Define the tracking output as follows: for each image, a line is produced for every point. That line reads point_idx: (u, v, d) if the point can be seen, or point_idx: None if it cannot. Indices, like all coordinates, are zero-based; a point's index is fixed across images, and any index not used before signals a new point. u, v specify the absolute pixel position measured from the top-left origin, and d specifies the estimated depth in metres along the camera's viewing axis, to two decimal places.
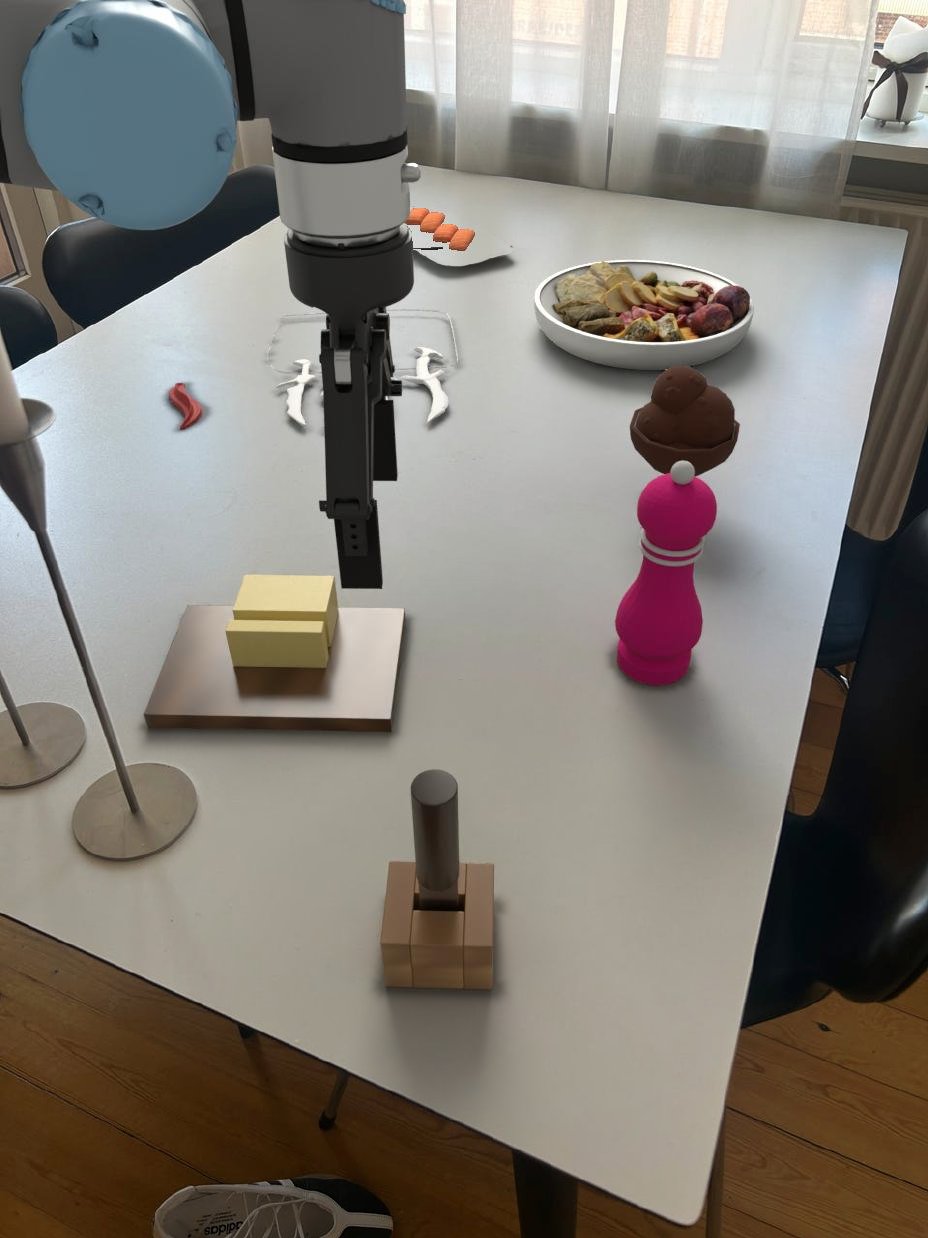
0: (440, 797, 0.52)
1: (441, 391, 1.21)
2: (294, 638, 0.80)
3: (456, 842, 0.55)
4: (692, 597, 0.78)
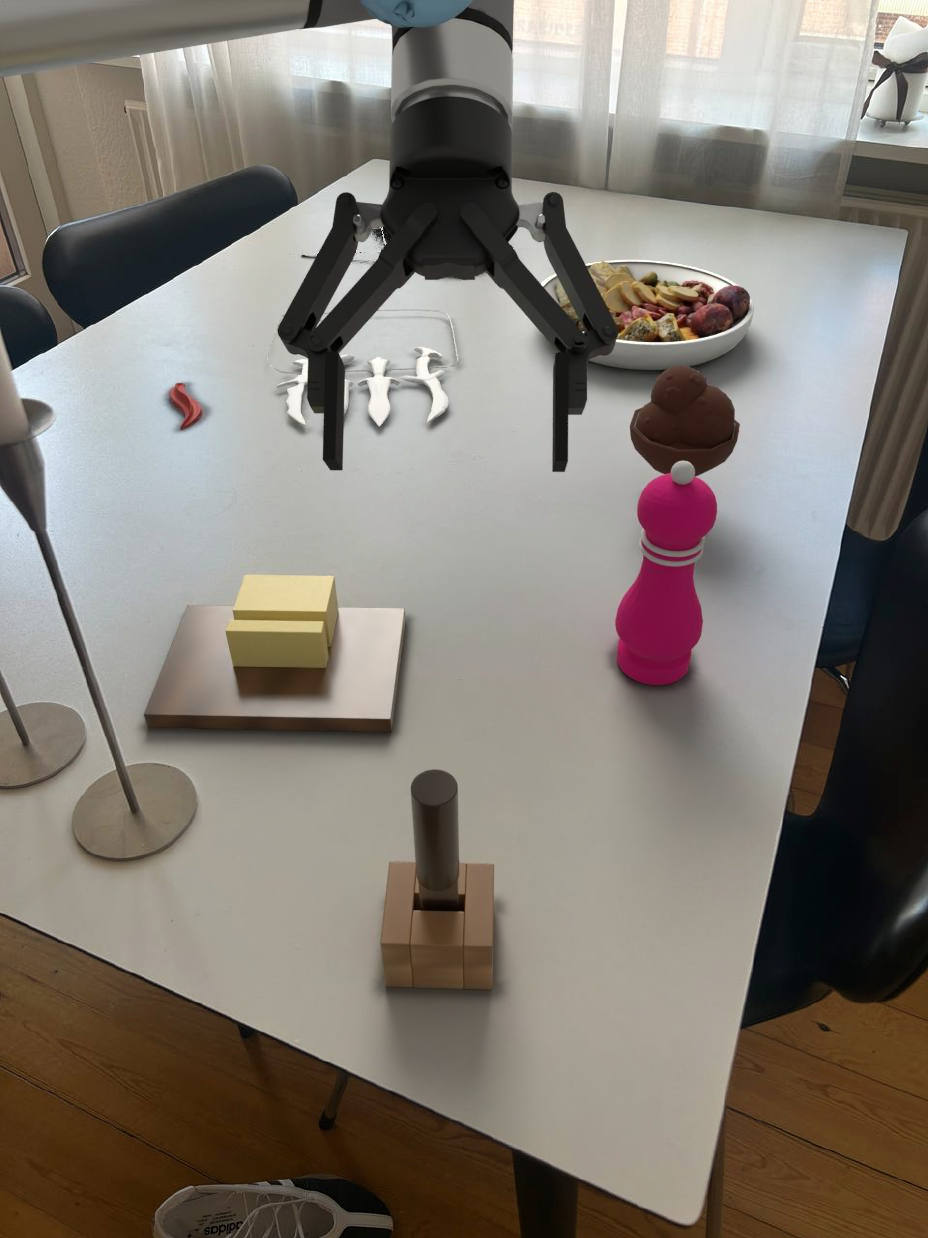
0: (440, 797, 0.52)
1: (441, 391, 1.21)
2: (294, 638, 0.80)
3: (456, 842, 0.55)
4: (692, 597, 0.78)
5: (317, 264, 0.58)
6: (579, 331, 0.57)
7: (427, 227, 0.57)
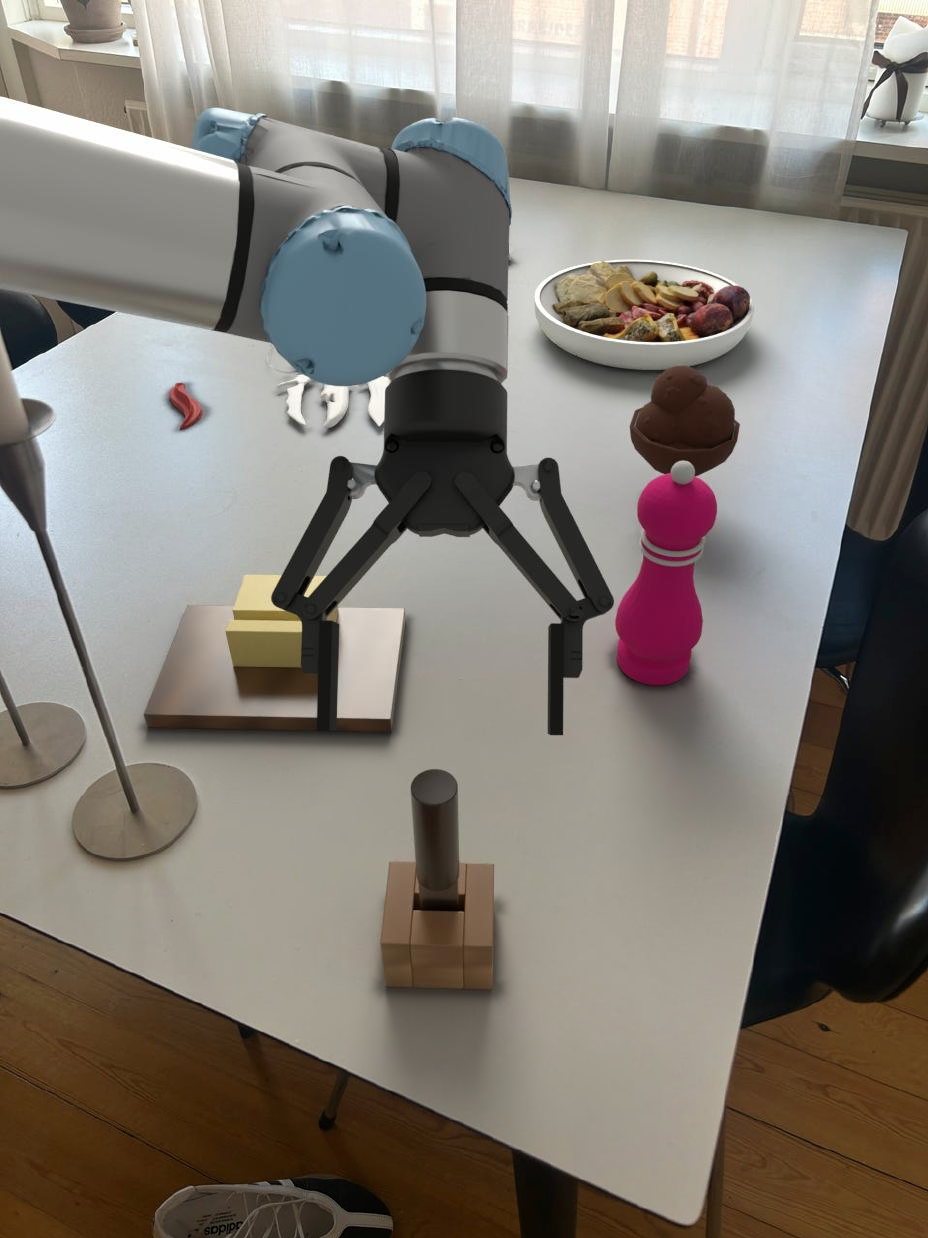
0: (440, 796, 0.52)
1: None
2: (294, 638, 0.80)
3: (456, 842, 0.55)
4: (692, 597, 0.78)
5: (311, 530, 0.57)
6: (574, 601, 0.57)
7: (422, 495, 0.57)
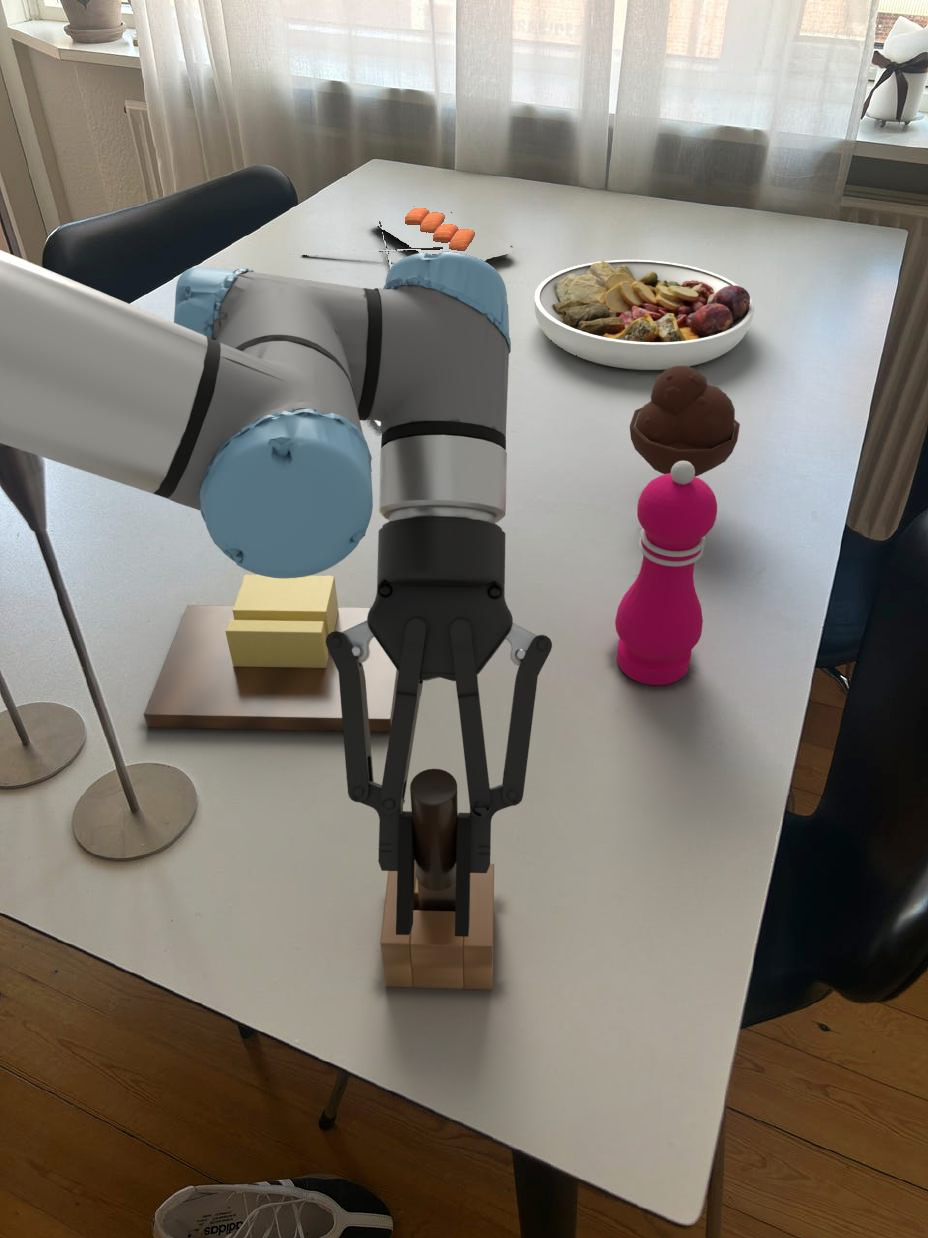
0: (439, 796, 0.52)
1: None
2: (294, 638, 0.80)
3: (455, 841, 0.55)
4: (692, 597, 0.78)
5: (347, 714, 0.55)
6: (488, 797, 0.55)
7: (424, 642, 0.55)
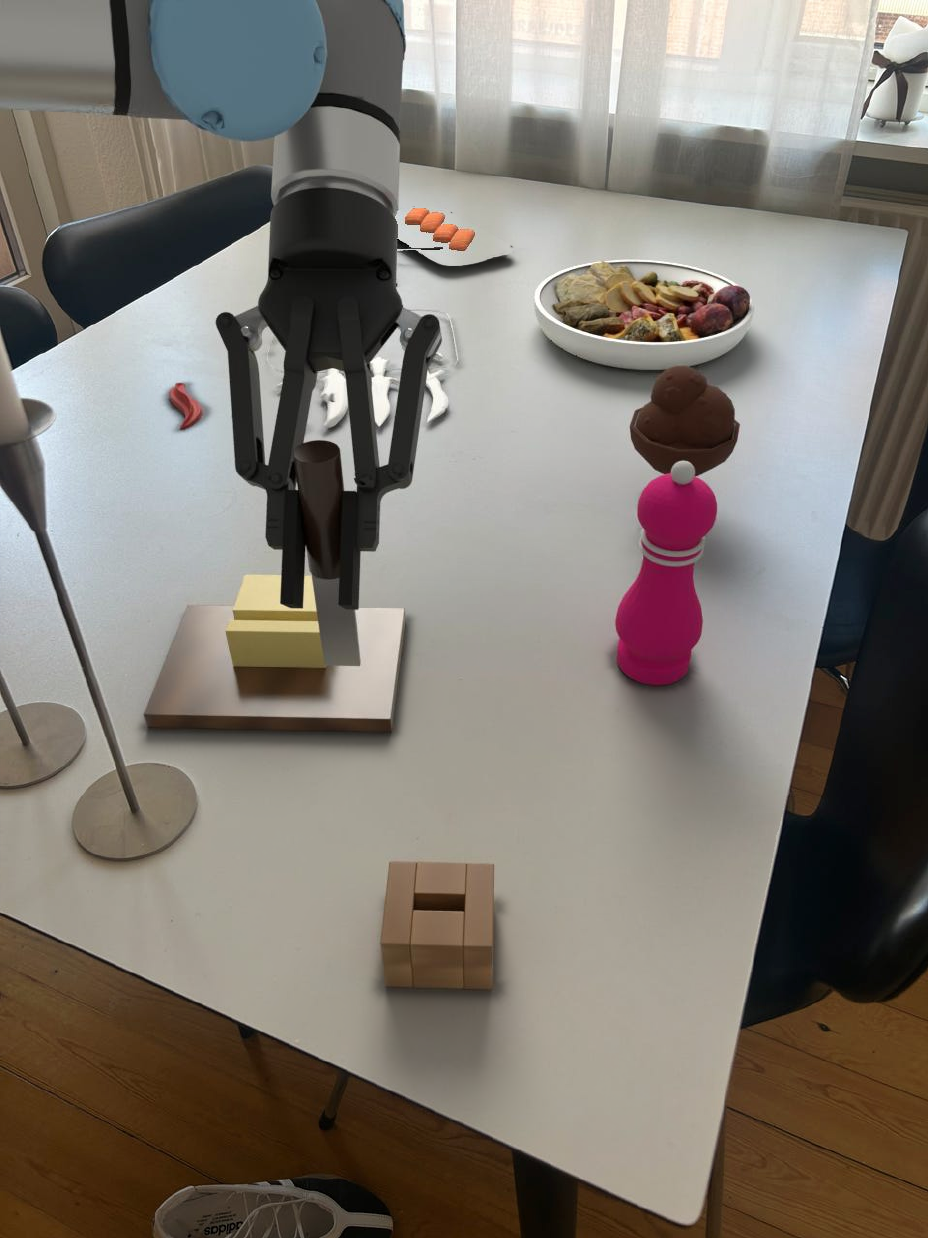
0: (321, 458, 0.53)
1: (441, 391, 1.21)
2: (294, 638, 0.80)
3: None
4: (692, 597, 0.78)
5: (235, 392, 0.55)
6: (373, 471, 0.55)
7: (312, 318, 0.55)
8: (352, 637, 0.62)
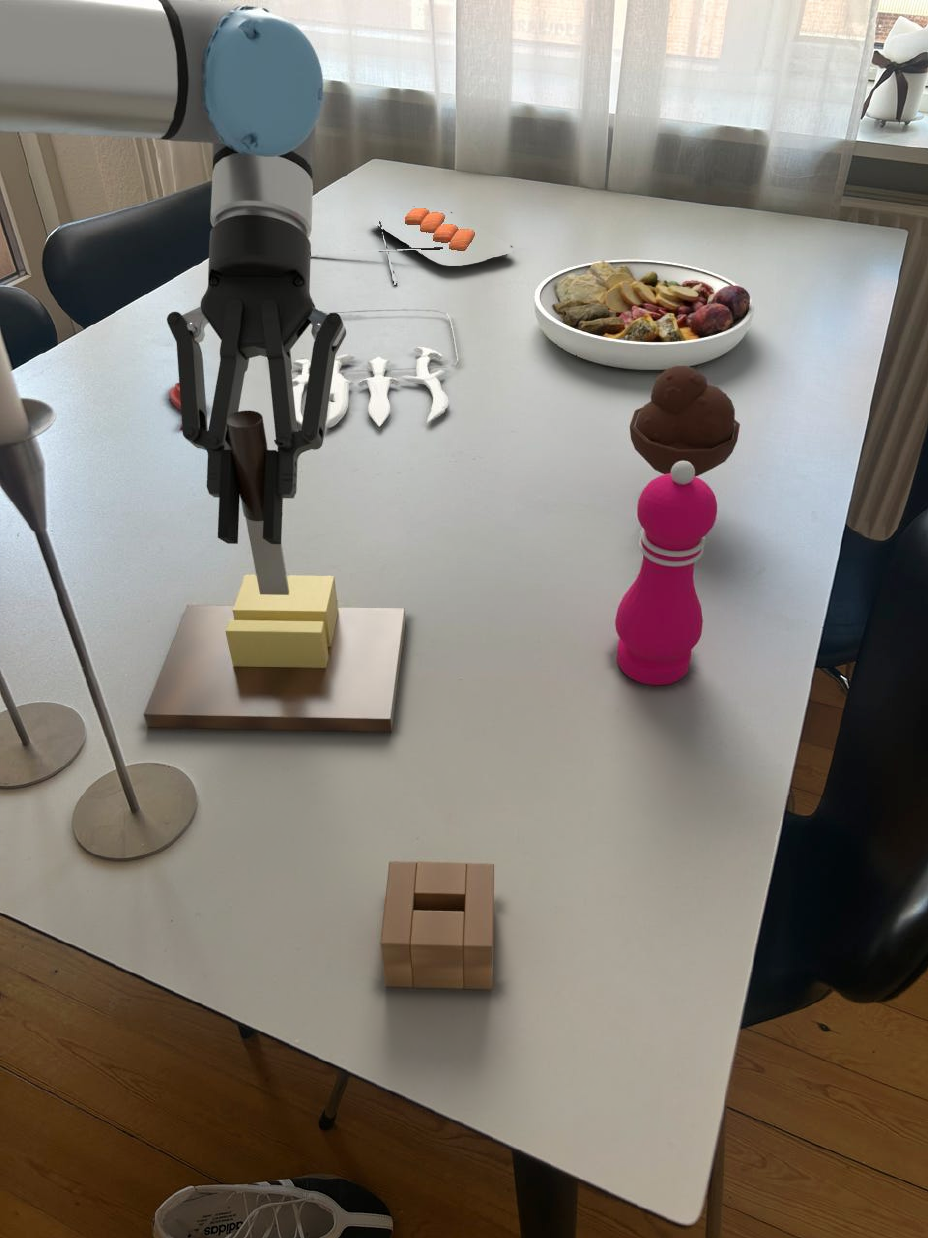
0: (247, 423, 0.69)
1: (441, 391, 1.21)
2: (294, 638, 0.80)
3: None
4: (692, 597, 0.78)
5: (182, 374, 0.71)
6: (290, 435, 0.71)
7: (241, 316, 0.71)
8: (280, 570, 0.78)
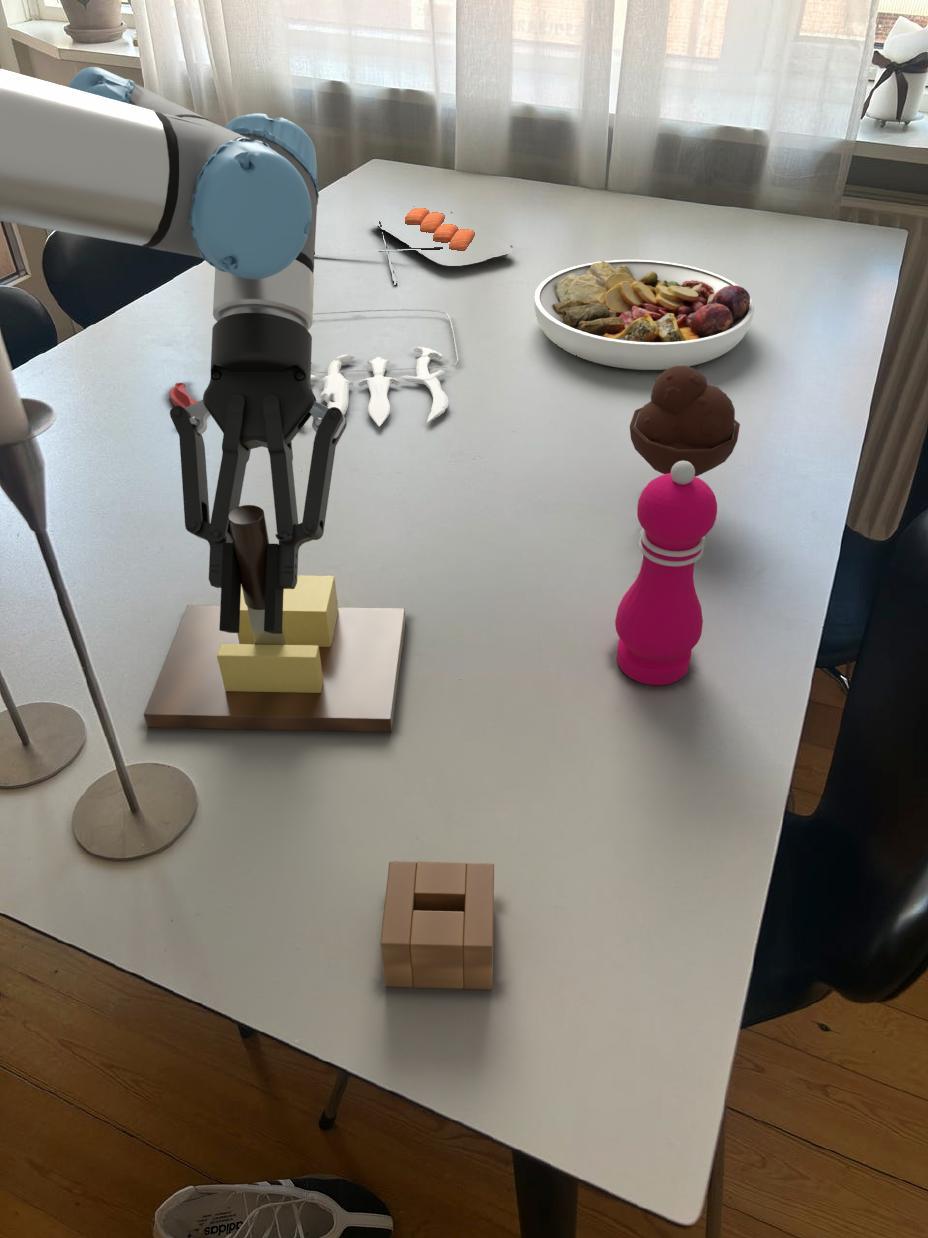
0: (249, 520, 0.70)
1: (441, 391, 1.21)
2: (288, 663, 0.77)
3: None
4: (692, 597, 0.78)
5: (185, 467, 0.72)
6: (291, 528, 0.72)
7: (243, 411, 0.72)
8: None
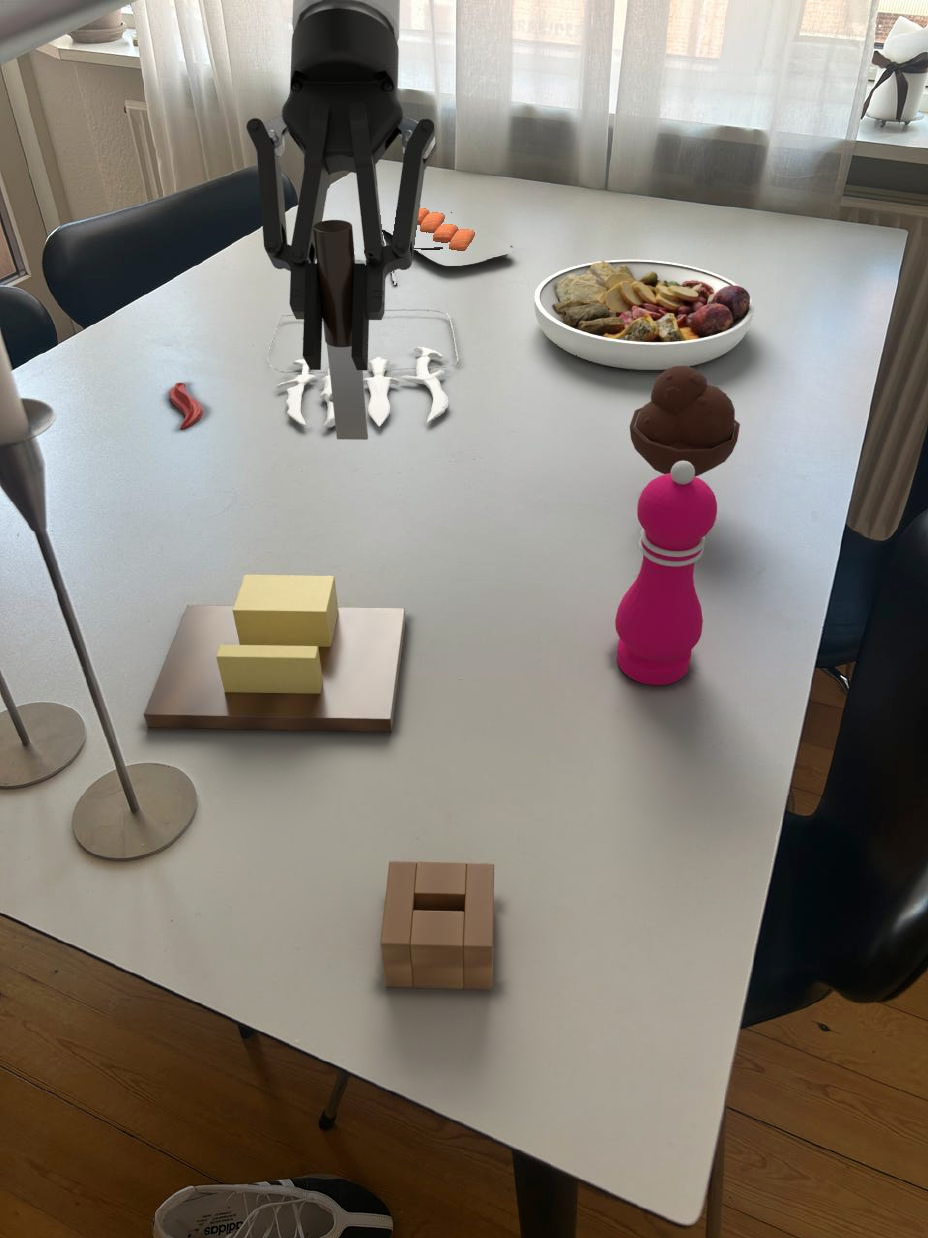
0: (336, 229, 0.64)
1: (441, 391, 1.21)
2: (287, 664, 0.77)
3: None
4: (692, 597, 0.78)
5: (263, 184, 0.66)
6: (380, 247, 0.66)
7: (327, 121, 0.66)
8: (361, 410, 0.73)
